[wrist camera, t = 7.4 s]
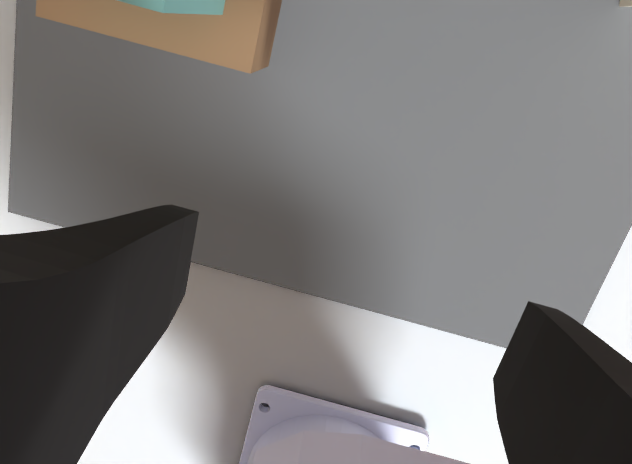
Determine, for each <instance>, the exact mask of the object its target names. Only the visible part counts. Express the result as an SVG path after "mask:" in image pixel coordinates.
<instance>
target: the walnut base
mask: <svg viewBox="0 0 632 464" xmlns="http://www.w3.org/2000/svg"><path fill="white" fill-rule="evenodd" d="M281 3H282V0H225V5H224V10H223V15H207V14H176V13H161V12H157V11H153V10H150V9H146V8H142V7H139V6H135V5H132V4H128V3H124V2H121V1H117V0H36V16H38V17H41V18H45V19H49V20H53V21H56V22H60V23H64V24H68V25H71V26H75V27H79V28H82V29H86V30H90V31H94V32H97V33H101V34H105V35H108V36H112V37H116V38H120V39H123V40H127V41H131V42H134V43H138V44H142V45H146V46H149V47H153V48H157V49H161V50H164V51H168V52H172V53H175V54H179V55H183V56H187V57H190V58H194V59H198V60H201V61H205V62H209V63H213V64H216V65H220V66H224V67H228V68H231V69H235V70H239V71H242V72H246V73H250V74H251V73H253V72H256V71H258V70H261V69H263V68H266V67H268V66H269V61H270V57H271V52H272V47H273V42H274V37H275V32H276V28H277V23H278V18H279V13H280V8H281Z"/></svg>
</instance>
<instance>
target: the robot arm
mask: <svg viewBox="0 0 632 464" xmlns="http://www.w3.org/2000/svg"><path fill="white" fill-rule="evenodd" d="M198 216H199V212H198V211H194V210H190V209H187V208H183V207H179V206H175V205H172V204H171V205H162V206H157V207H152V208H148V209H144V210H140V211H136V212H132V213H129V214H125V215H121V216H117V217H113V218H109V219H105V220H100V221H95V222H90V223H85V224H80V225H76V226H71V227H66V228H60V229H54V230H47V231H39V232H30V233H21V234H11V235H0V464H77V462H78V461H79V459H80V457H81V455H82V454H83V452H84V450H85V448H86V447H87V445H88V443H89V441H90V440H91V438H92V436H93V434H94V433H95V431H96V429H97V427H98V426H99V424H100V422H101V420H102V419H103V417H104V416H105V414H106V413H107V411H108V410H109V408H110V407H111V405H112V404H113V402H114V401H115V400H116V398H117V397H118V395H119V394H120V393H121V391H122V390H123V389H124V387H125V386H126V385H127V383H128V382H129V380H130V379H131V378H132V376H133V375H134V374H135V372H136V371H137V370H138V368H139V367H140V366H141V364H142V363H143V361H144V360H145V359H146V357H147V356H148V355H149V353H150V352H151V350H152V349H153V348H154V346H155V345H156V344H157V342H158V341H159V339H160V338H161V337H162V335H163V334H164V332H165V331H166V329H167V328H168V326H169V324H170V322H171V320H172V319H173V317H174V315H175V313H176V311H177V309H178V307H179V305H180V303H181V301H182V299H183V297H184V295H185V291H186V285H187V280H188V274H189V268H190V262H191V256H192V251H193V245H194V239H195V233H196V227H197V222H198ZM493 382H494V394H495V404H496V413H497V420H498V424H499V428H500V432H501V436H502V440H503V444H504V447H505V451H506V455H507V459H508V462H509V464H632V363H631V362H630V361H629V360H627V359H626V358H625V357H623V356H622V355H621V354H619V353H618V352H617V351H616V350H614V349H613V348H612V347H610V346H609V345H608V344H607V343H605V342H604V341H603V340H601V339H600V338H599V337H597V336H596V335H595V334H594V333H592V332H591V331H590V330H588V329H587V328H586V327H584V326H583V325H582V324H580V323H579V322H577V321H576V320H575V319H573V318H572V317H570V316H569V315H567V314H565V313H564V312H562V311H560V310H558V309H555V308H552V307H548V306H544V305H541V304H537V303H533V302H530V301H528V303H527V305H526V307H525V310H524V312H523V314H522V316H521V318H520V321H519V323H518V325H517V327H516V329H515V332H514V334H513V336H512V338H511V340H510V342H509V345H508V347H507V349H506V351H505V353H504V356H503V358H502V360H501V362H500V364H499V367H498V369H497V371H496V373H495V375H494V378H493ZM261 403H266V404H268V405H269V407H264V406H262V405H261ZM428 443H429V435H428V432H427V431H426V430H425V429H424V428H422V427H419V426H415V425H412V424H408V423H405V422H401V421H397V420H394V419H390V418H386V417H383V416H379V415H376V414H372V413H368V412H365V411H361V410H358V409H354V408H350V407H347V406H343V405H339V404H336V403H332V402H329V401H325V400H321V399H318V398H314V397H310V396H307V395H303V394H300V393H296V392H292V391H289V390H285V389H282V388H278V387H274V386H271V385H264V386H261V387H260V388H259V389H258V391H257V394H256V398H255V402H254V406H253V410H252V414H251V417H250V421H249V425H248V429H247V433H246V437H245V441H244V445H243V449H242V453H241V457H240V461H239V464H469V463H465V462H461V461H458V460H454V459H451V458H447V457H443V456H440V455H436V454H432V453H429V452H425V451H426V448H427V446H428ZM411 445H418V447H416V448H412V447H410V446H411Z"/></svg>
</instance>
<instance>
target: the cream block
mask: <svg viewBox="0 0 632 464" xmlns="http://www.w3.org/2000/svg"><path fill="white" fill-rule="evenodd" d="M628 6H632V0H620V4H619V7H628Z"/></svg>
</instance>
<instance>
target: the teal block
mask: <svg viewBox="0 0 632 464" xmlns="http://www.w3.org/2000/svg"><path fill="white" fill-rule="evenodd" d="M117 1H121V2H124V3H128V4H132V5H135V6H139V7H142V8H146V9H150V10H153V11H157V12H161V13H176V14H207V15H223V10H224V5H225V0H117Z"/></svg>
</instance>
